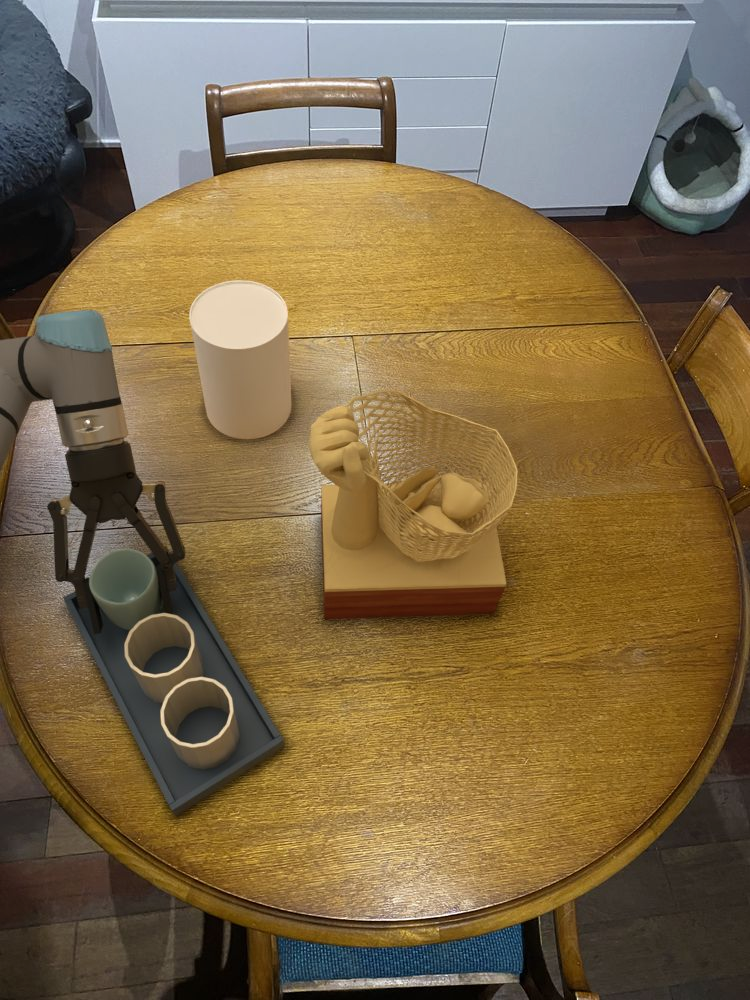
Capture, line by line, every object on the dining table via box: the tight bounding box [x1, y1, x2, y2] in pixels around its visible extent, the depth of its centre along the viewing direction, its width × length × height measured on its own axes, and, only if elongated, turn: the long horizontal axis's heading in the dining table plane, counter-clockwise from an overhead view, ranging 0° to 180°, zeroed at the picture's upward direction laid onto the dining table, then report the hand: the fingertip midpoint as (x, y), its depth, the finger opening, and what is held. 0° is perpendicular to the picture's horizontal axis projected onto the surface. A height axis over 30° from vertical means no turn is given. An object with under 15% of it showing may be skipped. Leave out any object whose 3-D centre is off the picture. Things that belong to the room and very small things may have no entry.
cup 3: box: [160, 677, 240, 770], centre depth 92 cm, size 8×8×10 cm
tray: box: [62, 545, 285, 817], centre depth 99 cm, size 32×15×3 cm, turn 34°
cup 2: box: [124, 613, 204, 703], centre depth 96 cm, size 8×8×10 cm
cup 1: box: [88, 548, 163, 630], centre depth 99 cm, size 8×8×10 cm
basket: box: [308, 389, 519, 620], centre depth 97 cm, size 25×18×35 cm
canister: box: [188, 279, 292, 440], centre depth 117 cm, size 14×14×20 cm
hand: (134, 622), depth 98 cm, fingers closed on cup 1, 8 cm apart
